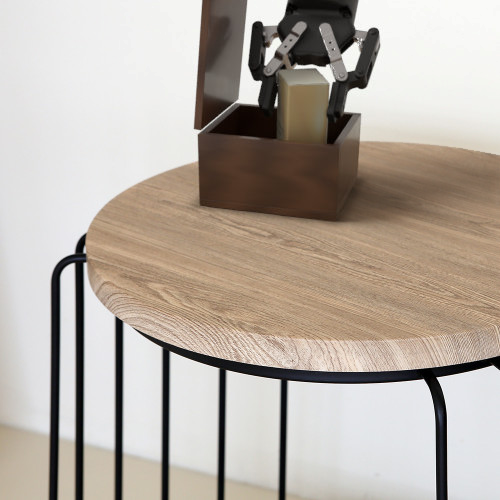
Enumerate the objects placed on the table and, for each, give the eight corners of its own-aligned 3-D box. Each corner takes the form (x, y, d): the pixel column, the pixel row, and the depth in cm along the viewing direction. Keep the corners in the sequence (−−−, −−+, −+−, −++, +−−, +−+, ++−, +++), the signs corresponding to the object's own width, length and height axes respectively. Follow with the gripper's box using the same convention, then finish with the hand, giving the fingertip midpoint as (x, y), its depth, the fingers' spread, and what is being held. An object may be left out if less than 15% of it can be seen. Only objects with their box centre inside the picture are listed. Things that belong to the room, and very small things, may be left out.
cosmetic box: (274, 177, 89) (275, 68, 84) (312, 174, 90) (315, 66, 85) (285, 198, 84) (287, 83, 78) (326, 196, 84) (330, 81, 79)
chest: (357, 179, 91) (361, 113, 88) (335, 221, 80) (339, 147, 77) (235, 166, 95) (235, 102, 92) (199, 205, 84) (197, 134, 81)
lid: (251, -43, 84) (206, -49, 85) (212, -29, 73) (161, -37, 75) (238, 99, 91) (197, 92, 92) (200, 130, 80) (155, 121, 82)
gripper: (257, -45, 85) (223, 92, 80) (392, -40, 82) (365, 103, 77) (269, 0, 92) (239, 128, 87) (394, 5, 88) (370, 140, 83)
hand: (298, 116), depth 82 cm, fingers closed on cosmetic box, 6 cm apart
